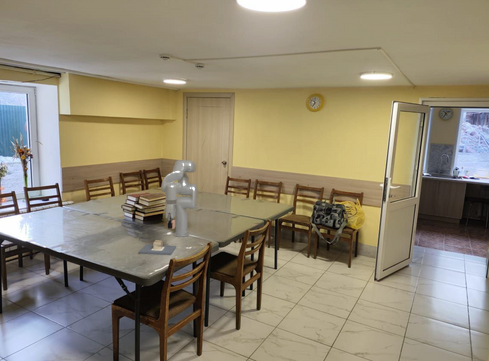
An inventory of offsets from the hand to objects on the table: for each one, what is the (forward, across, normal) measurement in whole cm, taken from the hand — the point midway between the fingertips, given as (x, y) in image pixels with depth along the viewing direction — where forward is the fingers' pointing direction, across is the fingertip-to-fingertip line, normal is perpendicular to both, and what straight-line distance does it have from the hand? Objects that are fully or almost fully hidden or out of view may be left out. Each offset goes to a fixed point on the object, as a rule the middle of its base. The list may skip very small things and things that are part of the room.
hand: (170, 227), depth 235 cm
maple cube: (+16, 0, -9) cm, 18 cm away
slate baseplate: (+17, 0, -9) cm, 20 cm away
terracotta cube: (+1, 0, 0) cm, 1 cm away
